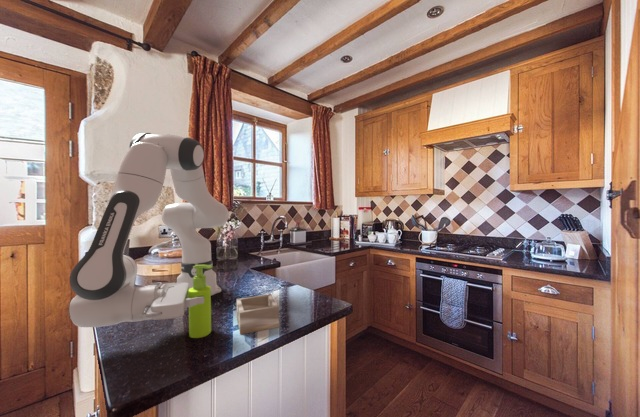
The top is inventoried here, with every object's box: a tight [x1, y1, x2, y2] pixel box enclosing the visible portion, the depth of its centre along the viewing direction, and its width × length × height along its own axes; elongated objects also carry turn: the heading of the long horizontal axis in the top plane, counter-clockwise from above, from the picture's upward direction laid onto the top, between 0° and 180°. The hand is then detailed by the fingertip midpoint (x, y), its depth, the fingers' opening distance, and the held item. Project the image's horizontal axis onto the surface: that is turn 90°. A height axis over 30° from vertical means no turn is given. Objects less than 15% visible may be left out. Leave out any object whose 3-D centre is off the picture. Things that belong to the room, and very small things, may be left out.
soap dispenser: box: [188, 264, 214, 339], centre depth 76 cm, size 6×7×20 cm
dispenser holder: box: [235, 293, 280, 335], centre depth 83 cm, size 12×11×6 cm
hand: (204, 295), depth 76 cm, fingers closed on soap dispenser, 6 cm apart
